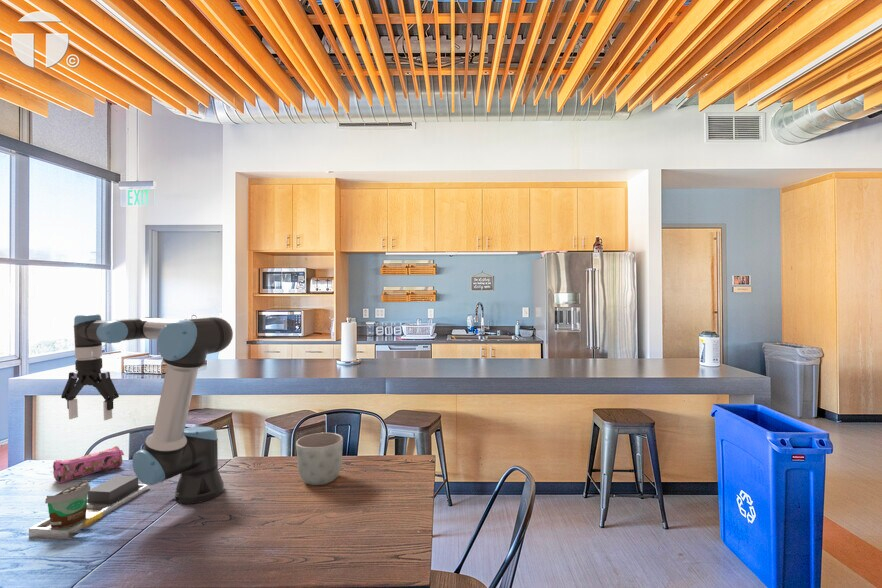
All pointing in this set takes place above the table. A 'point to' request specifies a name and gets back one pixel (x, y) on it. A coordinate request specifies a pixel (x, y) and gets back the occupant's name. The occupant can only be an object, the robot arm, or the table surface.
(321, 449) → the planter
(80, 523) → the rack
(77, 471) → the pencil case
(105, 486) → the grey rectangular box
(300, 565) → the table surface
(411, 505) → the table surface
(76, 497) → the food container
